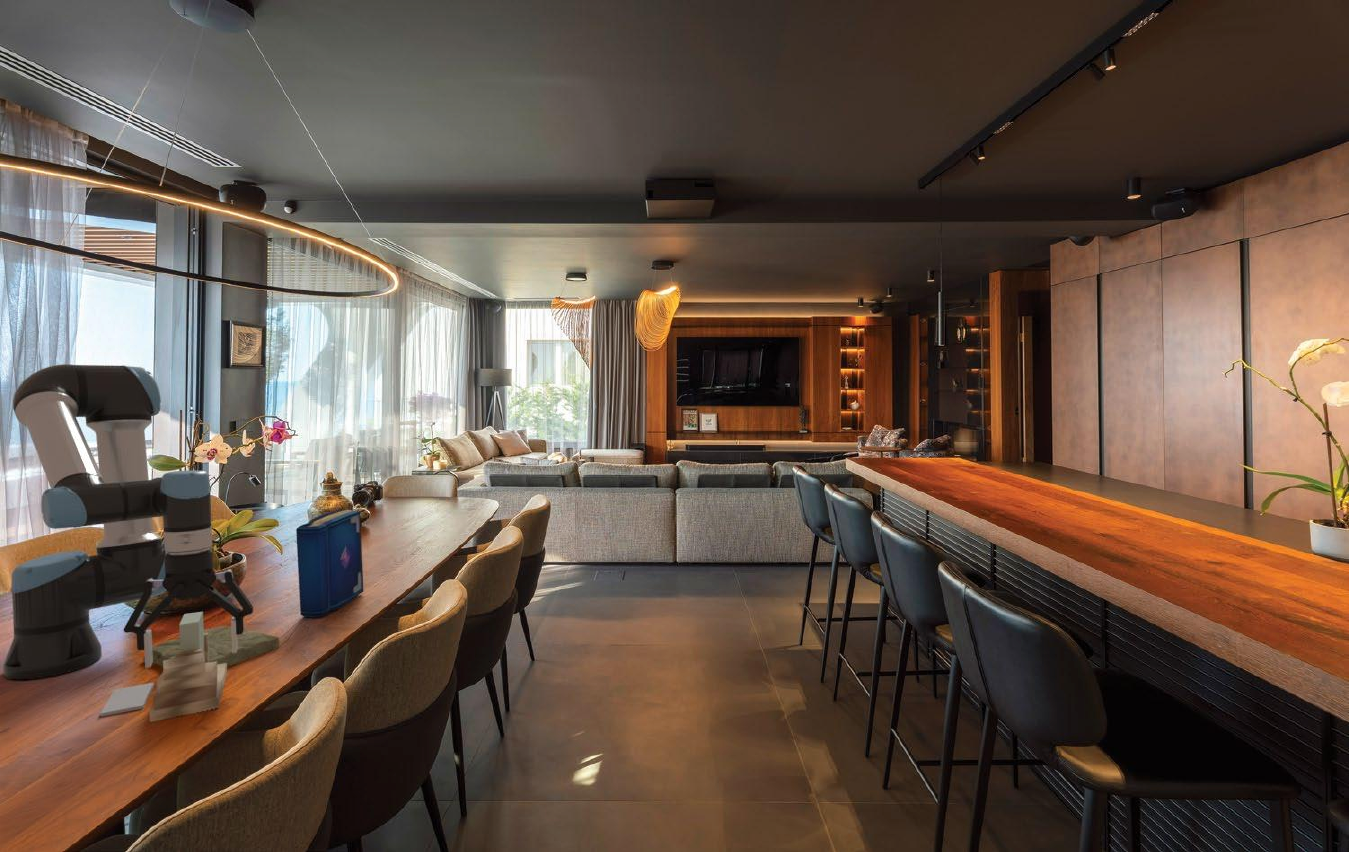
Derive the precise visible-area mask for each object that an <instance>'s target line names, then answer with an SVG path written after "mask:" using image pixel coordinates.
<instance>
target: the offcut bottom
mask: <svg viewBox="0 0 1349 852" xmlns="http://www.w3.org/2000/svg"><path fill="white" fill-rule="evenodd" d="M216 696H217V676H216V678H215V680H214V682H213V684H212V685H207V686H201V687H194V688H188V689H182V690H175V691H169V692H163V693H158V685H157V684H156V688H155V691H154V694H153V702H154V711H155V710H159V709H164V708H169V707H174V706H178V705H183V704H188V703H193V702H197V701H202V700H207V699H212V698H216Z"/></svg>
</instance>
